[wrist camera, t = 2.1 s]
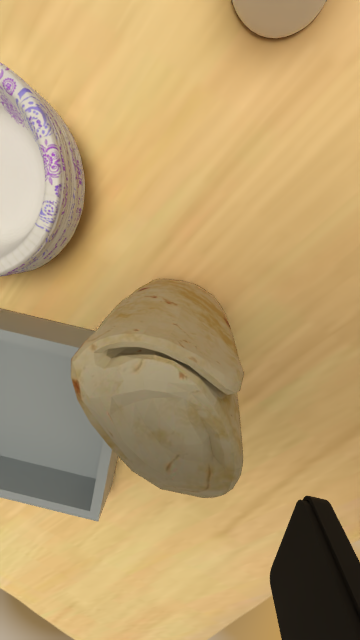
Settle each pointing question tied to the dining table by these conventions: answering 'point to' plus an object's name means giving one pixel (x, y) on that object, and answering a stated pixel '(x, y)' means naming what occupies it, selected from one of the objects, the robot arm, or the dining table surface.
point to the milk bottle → (277, 15)
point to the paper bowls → (35, 178)
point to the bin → (48, 421)
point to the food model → (166, 388)
